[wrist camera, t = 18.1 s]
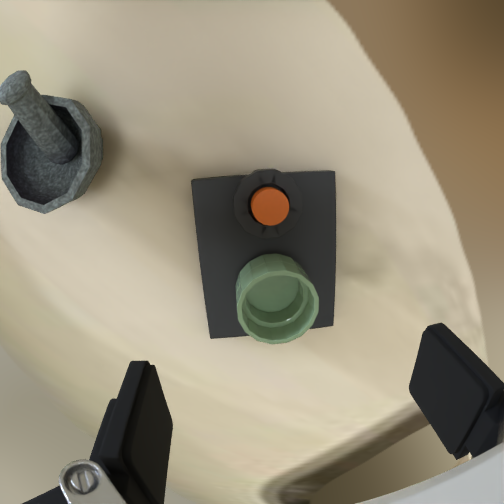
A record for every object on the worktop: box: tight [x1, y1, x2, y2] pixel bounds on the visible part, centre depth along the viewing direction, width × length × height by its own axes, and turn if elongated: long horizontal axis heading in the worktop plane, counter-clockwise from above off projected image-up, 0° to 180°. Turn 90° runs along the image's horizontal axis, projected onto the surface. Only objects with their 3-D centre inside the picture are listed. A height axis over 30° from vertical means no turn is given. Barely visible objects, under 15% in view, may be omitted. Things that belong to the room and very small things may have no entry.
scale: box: [191, 169, 336, 339], centre depth 30 cm, size 16×13×3 cm
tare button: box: [251, 187, 289, 226], centre depth 27 cm, size 3×3×2 cm
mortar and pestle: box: [0, 71, 103, 214], centre depth 21 cm, size 11×9×12 cm
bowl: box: [235, 253, 319, 344], centre depth 29 cm, size 7×7×5 cm
